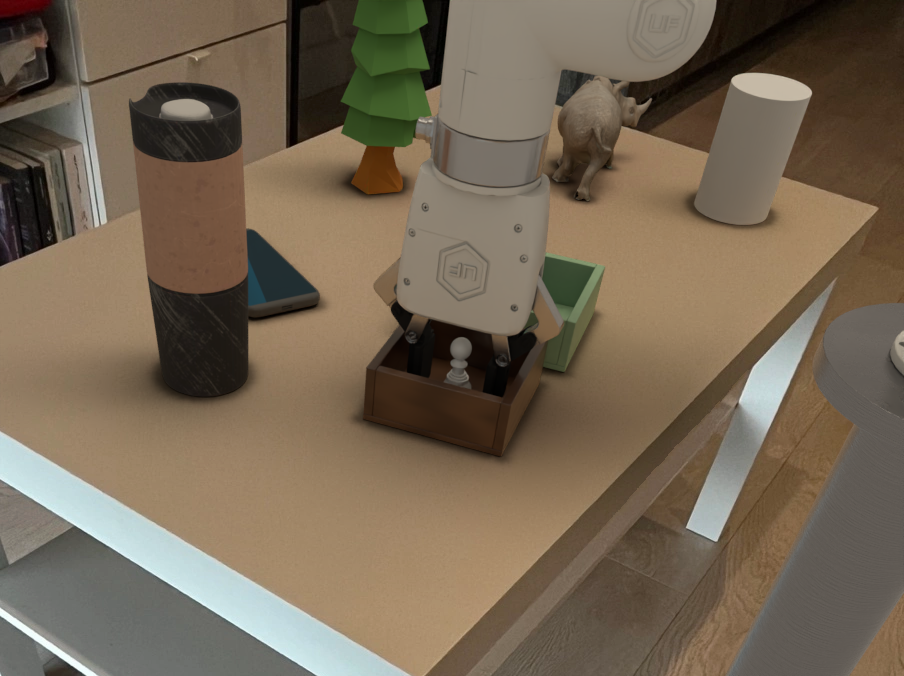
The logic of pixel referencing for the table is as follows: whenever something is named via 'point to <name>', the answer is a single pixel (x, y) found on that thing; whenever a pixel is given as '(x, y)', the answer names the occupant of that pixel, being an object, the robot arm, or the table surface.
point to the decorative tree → (385, 88)
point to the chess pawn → (459, 363)
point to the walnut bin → (450, 391)
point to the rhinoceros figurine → (594, 128)
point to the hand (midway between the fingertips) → (454, 390)
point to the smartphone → (274, 280)
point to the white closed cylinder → (751, 147)
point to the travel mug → (194, 232)
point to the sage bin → (569, 304)
